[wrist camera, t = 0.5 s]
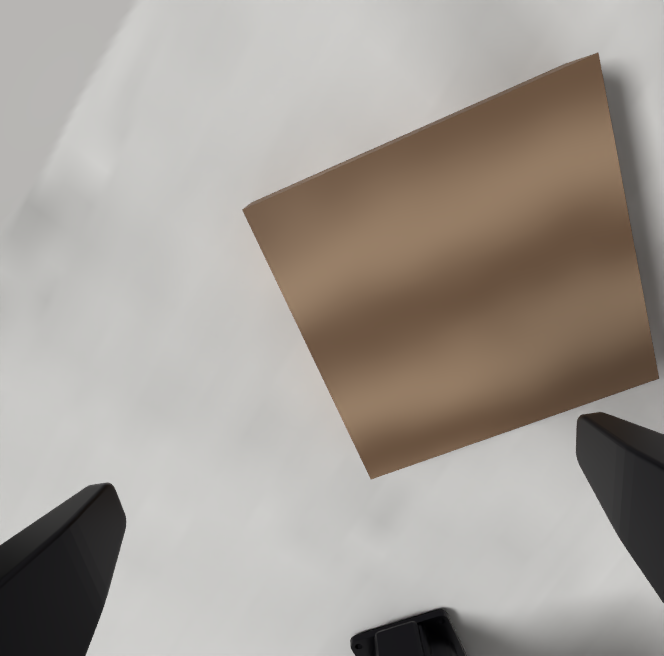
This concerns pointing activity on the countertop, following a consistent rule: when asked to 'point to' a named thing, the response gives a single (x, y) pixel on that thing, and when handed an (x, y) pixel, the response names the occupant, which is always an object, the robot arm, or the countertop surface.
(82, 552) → the robot arm
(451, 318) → the walnut block
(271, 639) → the countertop surface
